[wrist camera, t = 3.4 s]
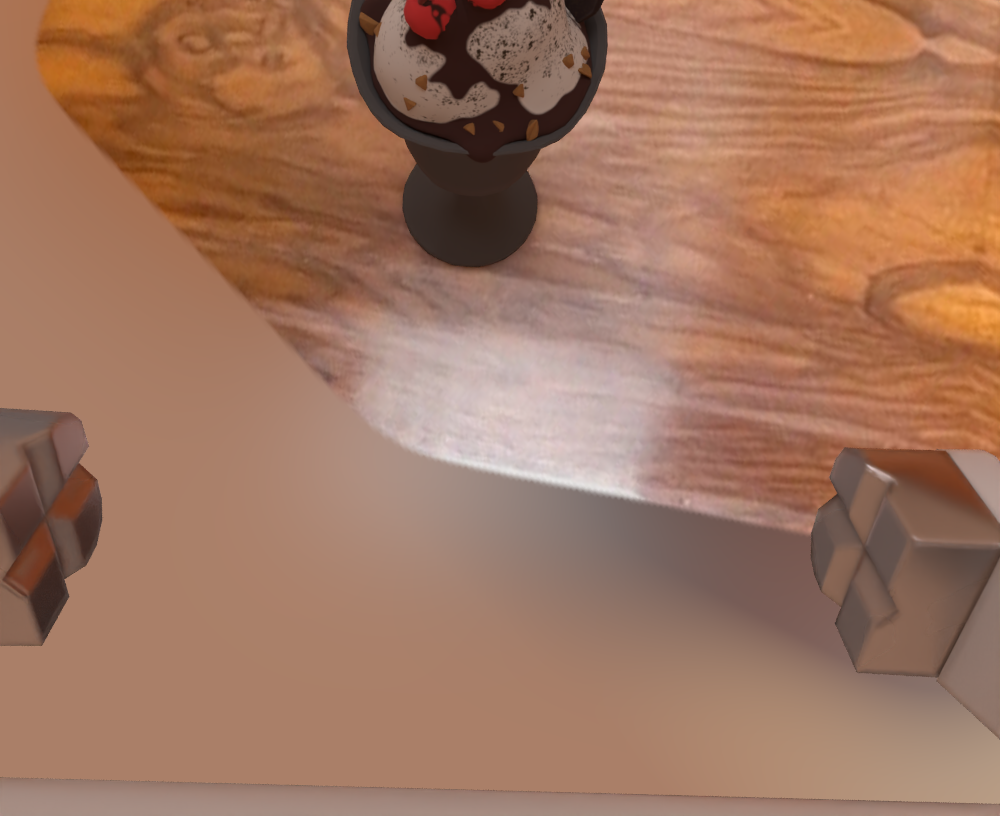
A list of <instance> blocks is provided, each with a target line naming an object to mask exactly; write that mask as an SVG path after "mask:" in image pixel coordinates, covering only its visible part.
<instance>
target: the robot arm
mask: <svg viewBox="0 0 1000 816" xmlns="http://www.w3.org/2000/svg"><path fill="white" fill-rule="evenodd" d="M88 447H89V445H88V442H87V438H86V435H85V432H84V428H83V425H82V421H81V420H80V419H79V418H77V417H76V416H75V415H73V414H72V413H68V412H53V411H38V410H21V409H5V408H0V645H1V646H42V645H43V643H44V641H45V639H46V638H47V636H48V634H49V632H50V630H51V629H52V626H53V625H54V623H55V621H56V620H57V618H58V616H59V614H60V612H61V610H62V609H63V607H64V605H65V603H66V601H67V600H68V598H69V594H68V591H67V587H66V583H65V580H64V579H66V578H67V577H69V576H70V575H72V574H73V573H75V572H77V571H78V570H79V569H81V568H83V567H84V566H86V565H87V563H88V561H89V559H90V557H91V555H92V553H93V551H94V549H95V547H96V545H97V541H98V537H99V532H100V527H101V523H102V498H101V494H100V490H99V486H98V481H97V479H96V478H95V477H93V476H92V475H91V474H90V473H89V472H88V471H87V470H86V469H85V468H84V467H83V466H81V465H80V464H79V461H80V459H81V458H82V456H83V455H84V453H85V452H86V450H87V448H88ZM829 478H830V480H831V482H832V484H833V486H834V488H835V490H836V492H837V495H835V496H834V497H833V498H832V499H830V500H829V501H828V502H827V503H825V504H824V505H823V506H822V507H820V508H819V509H818V512H817V516H816V519H815V522H814V526H813V529H812V533H811V561H812V566H813V570H814V575H815V578H816V580H817V582H818V585H819V587H820V590H821V592H822V593H823V594H825V595H826V596H827V597H828V598H830V599H831V600H832V601H834V602H835V603H836V604H837V605H839V606H840V607H841V609H840V612H839V614H838V617H837V619H836V622H835V625H836V627H837V629H838V631H839V634H840V636H841V638H842V640H843V643H844V645H845V647H846V649H847V652H848V654H849V656H850V658H851V660H852V663H853V665H854V667H855V669H856V672H858V673H872V674H889V675H906V676H924V677H938V679H937V682H938V683H939V684H940V685H941V686H942V687H944V688H945V689H946V690H947V691H948V692H949V693H950V694H951V695H952V696H953V697H954V698H956V699H957V700H958V701H959V702H960V703H961V704H962V705H963V706H964V707H965V708H966V709H967V710H969V711H970V712H971V713H972V714H973V715H974V716H975V717H976V718H977V719H978V720H979V721H981V722H982V723H983V724H984V725H985V726H986V727H987V728H988V729H989V730H990V731H991V732H993V733H994V734H995V735H996V736H997V737H998V738H999V739H1000V461H999V460H998V459H997V457H996V456H994V455H992V454H990V453H988V452H986V451H984V450H960V449H937V450H910V449H878V448H846V447H845V448H844V449H843V450H842V452H841V453H840V454H839V456H838V457H837V458H836V460H835V463H834V466H833V468H832V471H831V474H830V477H829ZM0 816H1000V804H978V803H977V804H976V803H940V802H901V801H899V802H898V801H865V800H826V799H792V798H791V799H790V798H789V799H788V798H755V797H717V796H715V797H714V796H681V795H643V794H606V793H571V792H532V791H495V790H493V791H492V790H457V789H420V788H417V789H416V788H382V787H341V786H306V785H269V784H268V785H267V784H231V783H230V784H229V783H193V782H156V781H117V780H81V779H80V780H78V779H43V778H40V779H39V778H4V777H0Z"/></svg>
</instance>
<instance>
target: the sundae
mask: <svg viewBox="0 0 1000 816" xmlns="http://www.w3.org/2000/svg"><path fill="white" fill-rule="evenodd" d="M603 1H604V0H352V2H351V8H350V13H349V18H348V27H347V49H348V54H349V58H350V63H351V67H352V72H353V75H354V78H355V81H356V84H357V86H358V89H359V92H360V94H361V96H362V97H363V99H364V101H365V102H366V104H367V106H368V108H369V109H370V111H371V112H372V114H373V115H374V116H375V117H376V118H377V119H378V121H379V122H380V123H381V124H382V125H383V126H384V127H386V128H387V129H389V130H390V131H392V132H393V133H395V134H396V135H398V136H399V137H401V138H403V139H405V142H406V145H407V147H408V149H409V150H410V152H411V154H412V156H413V157H414V159H415V161H416V163H417V164H416V166H415V167H414V169H413V170H412V172H411V173H410V175H409V177H408V180H407V182H406V184H405V187H404V194H403V213H404V217H405V220H406V223H407V226H408V228H409V231H410V233H411V235H412V236H413V237H414V238H415V240H416V241H417V242H418V243H419V244H420V245H421V246H422V247H423V248H424V249H425V250H426V251H427V252H428V253H429V254H431V255H433V256H435V257H436V258H438V259H440V260H442V261H445V262H447V263H450V264H452V265H459V266H469V267H480V266H484V265H488V264H492V263H495V262H498V261H500V260H503V259H505V258H506V257H508V256H509V255H511V254H512V253H513V252H515V251H516V250H517V249H518V248H519V247H520V246H521V245H522V244H523V243H524V242H525V240H526V239H527V237H528V236H529V234H530V232H531V230H532V228H533V225H534V223H535V221H536V214H537V194H536V191H535V187H534V184H533V182H532V180H531V177H530V175H529V173H528V172H527V169H528V168H529V166H530V165H531V164H532V162H533V161H534V160H535V158H536V157H537V155H538V153H539V151H540V149H541V148H544V147H546V146H548V145H550V144H552V143H555V142H557V141H559V140H560V139H561V138H562V137H564V136H565V135H566V134H567V133H569V132H570V131H571V130H572V129H573V128H574V126H575V125H576V124H577V123H578V121H579V120H580V119H581V118H582V116H583V115H584V114H585V113H586V111H587V109H588V107H589V105H590V104H591V102H592V100H593V98H594V96H595V94H596V91H597V89H598V86H599V83H600V81H601V78H602V76H603V73H604V70H605V64H606V55H607V47H608V43H607V23H606V20H605V17H604V15H603V12H602V9H601V5H602V3H603Z"/></svg>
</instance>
